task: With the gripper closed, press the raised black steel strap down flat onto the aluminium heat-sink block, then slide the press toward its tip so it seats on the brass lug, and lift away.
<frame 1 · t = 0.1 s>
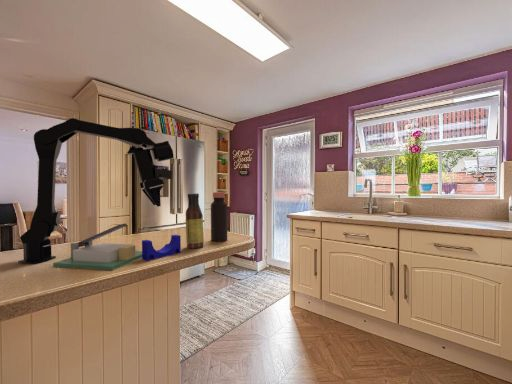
hand: (157, 205, 94), 15 cm above the counter, tool pointing down, fingers open, 9 cm apart
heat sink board: (104, 260, 78), on the counter
blue cradle block: (161, 256, 83), on the counter
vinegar: (219, 240, 106), on the counter
sauce bottle: (194, 247, 94), on the counter
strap: (101, 235, 78), point 7 cm above the counter, hinge at 22.0°
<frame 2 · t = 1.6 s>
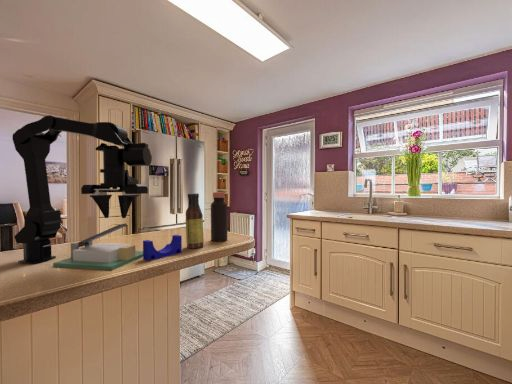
hand: (115, 217, 77), 13 cm above the counter, tool pointing down, fingers open, 6 cm apart
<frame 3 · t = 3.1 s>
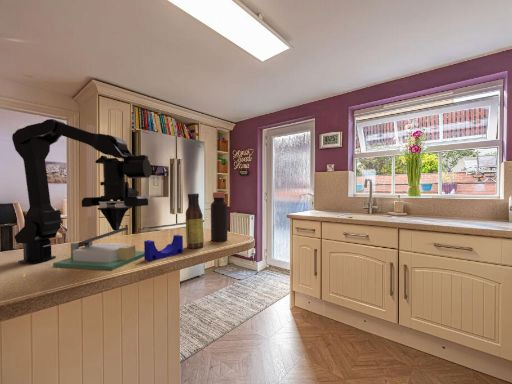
hand: (116, 230, 77), 9 cm above the counter, tool pointing down, fingers closed
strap: (102, 237, 78), point 7 cm above the counter, hinge at 17.5°, touching gripper
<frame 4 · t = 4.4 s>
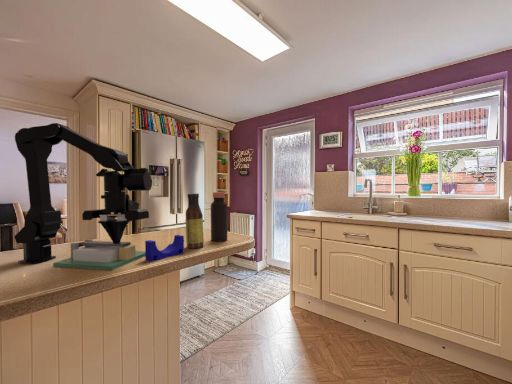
hand: (116, 243, 77), 5 cm above the counter, tool pointing down, fingers closed, pressing on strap
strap: (103, 244, 78), point 5 cm above the counter, hinge at 0.8°, touching gripper
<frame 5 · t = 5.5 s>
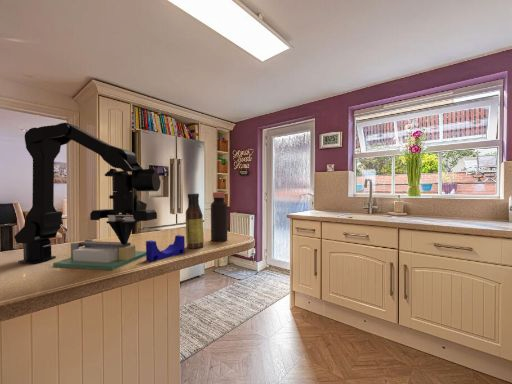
hand: (124, 243, 76), 5 cm above the counter, tool pointing down, fingers closed, pressing on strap
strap: (103, 245, 78), point 5 cm above the counter, hinge at 0.2°, touching gripper
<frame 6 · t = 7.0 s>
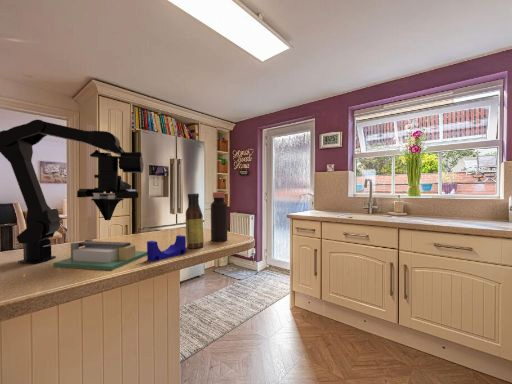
hand: (107, 220, 82), 12 cm above the counter, tool pointing down, fingers closed
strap: (103, 245, 78), point 5 cm above the counter, hinge at 0.2°
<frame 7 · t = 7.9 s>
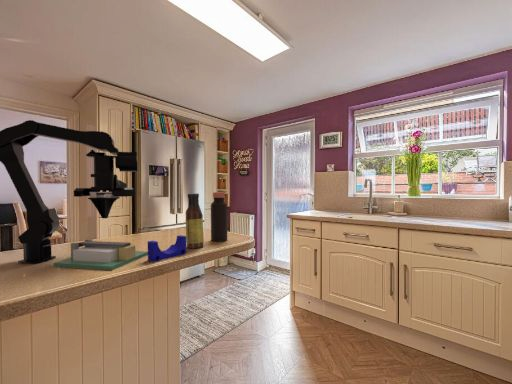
hand: (104, 218, 84), 12 cm above the counter, tool pointing down, fingers closed
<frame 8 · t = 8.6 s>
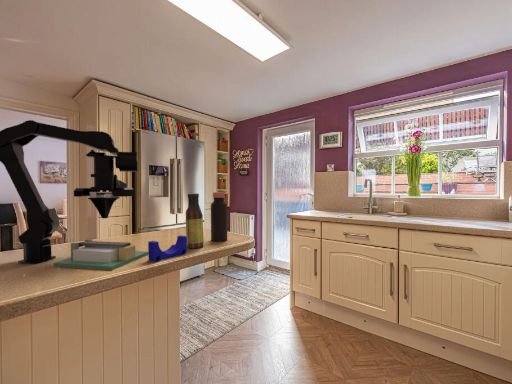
hand: (104, 218, 84), 12 cm above the counter, tool pointing down, fingers closed
at the end: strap at +0° (first picture: +22°) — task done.
